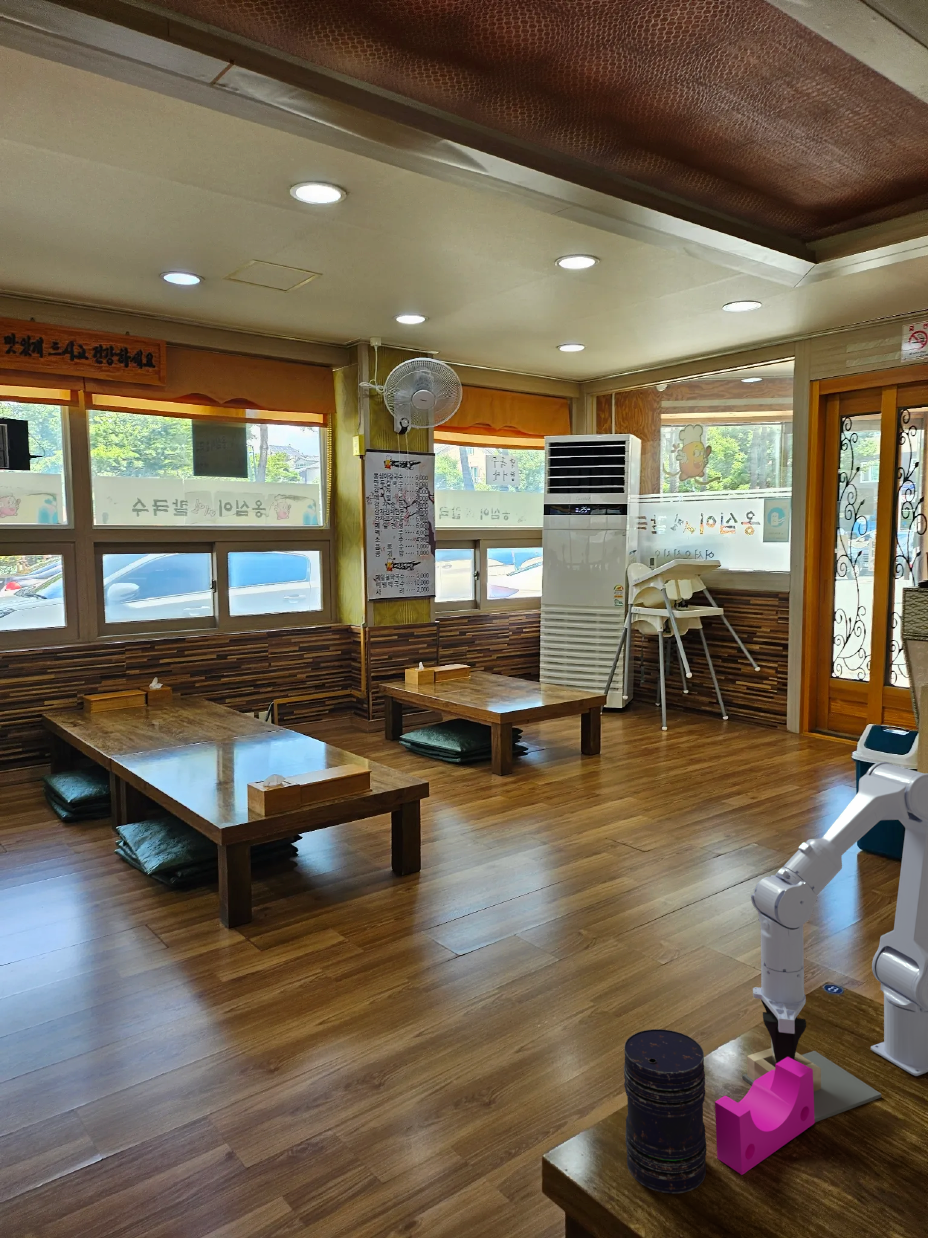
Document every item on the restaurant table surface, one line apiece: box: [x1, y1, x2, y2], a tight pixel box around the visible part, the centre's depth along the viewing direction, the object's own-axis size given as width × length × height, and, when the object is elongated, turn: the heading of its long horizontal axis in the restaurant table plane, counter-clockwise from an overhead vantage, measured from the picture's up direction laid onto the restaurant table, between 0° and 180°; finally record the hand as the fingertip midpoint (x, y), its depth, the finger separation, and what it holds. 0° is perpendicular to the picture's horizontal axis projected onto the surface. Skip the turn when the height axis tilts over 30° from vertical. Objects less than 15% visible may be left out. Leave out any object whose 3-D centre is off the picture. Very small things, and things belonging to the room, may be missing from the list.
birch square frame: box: [746, 1047, 821, 1091], centre depth 123 cm, size 7×7×3 cm
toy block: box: [714, 1057, 816, 1176], centre depth 112 cm, size 15×6×8 cm, turn 125°
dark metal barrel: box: [623, 1028, 707, 1194], centre depth 107 cm, size 10×10×15 cm
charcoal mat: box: [741, 1050, 882, 1123], centre depth 122 cm, size 14×12×1 cm
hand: (783, 1056), depth 122 cm, fingers open, 3 cm apart
